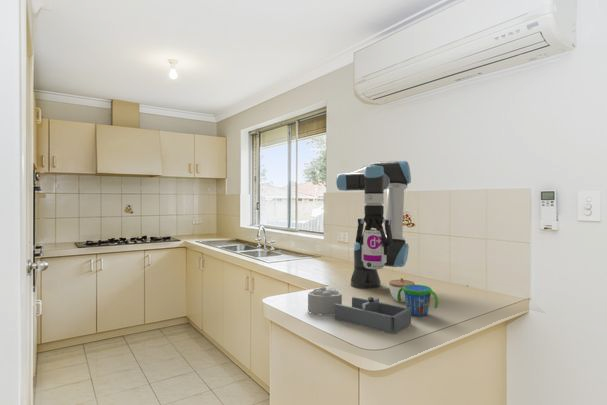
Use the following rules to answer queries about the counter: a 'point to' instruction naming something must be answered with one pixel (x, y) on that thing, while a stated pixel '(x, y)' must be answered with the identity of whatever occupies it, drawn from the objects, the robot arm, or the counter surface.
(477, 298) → the counter surface
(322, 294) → the lumpy-topped squat cylinder
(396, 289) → the lidded jar
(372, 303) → the pusher
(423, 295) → the snack cup
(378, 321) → the gray storage bin
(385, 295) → the counter surface
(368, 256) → the supplement can
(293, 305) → the counter surface
